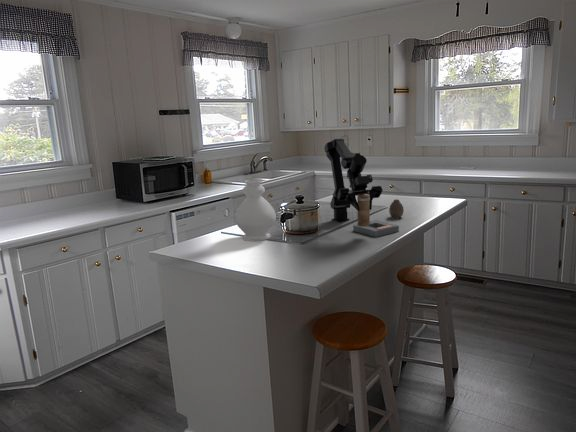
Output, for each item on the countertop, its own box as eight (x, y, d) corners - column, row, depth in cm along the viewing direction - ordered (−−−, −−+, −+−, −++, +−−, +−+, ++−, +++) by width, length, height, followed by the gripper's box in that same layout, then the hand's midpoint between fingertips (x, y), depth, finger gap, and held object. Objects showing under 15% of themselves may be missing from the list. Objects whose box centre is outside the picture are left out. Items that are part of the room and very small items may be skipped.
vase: (387, 218, 228) (387, 200, 226) (391, 215, 234) (391, 198, 232) (401, 219, 224) (401, 201, 222) (404, 216, 230) (405, 198, 228)
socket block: (353, 230, 208) (353, 224, 207) (376, 225, 215) (376, 219, 214) (375, 236, 196) (375, 230, 196) (398, 231, 204) (398, 225, 203)
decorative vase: (248, 245, 191) (244, 185, 186) (229, 236, 206) (225, 181, 200) (284, 237, 201) (282, 180, 195) (263, 229, 215) (260, 176, 210)
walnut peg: (354, 225, 196) (354, 195, 193) (362, 222, 200) (362, 193, 197) (364, 227, 193) (364, 196, 190) (372, 224, 196) (372, 194, 193)
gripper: (339, 169, 193) (347, 200, 185) (381, 166, 196) (391, 197, 188) (333, 185, 202) (341, 215, 194) (374, 182, 205) (383, 212, 198)
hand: (364, 209), depth 193 cm, fingers closed on walnut peg, 5 cm apart
